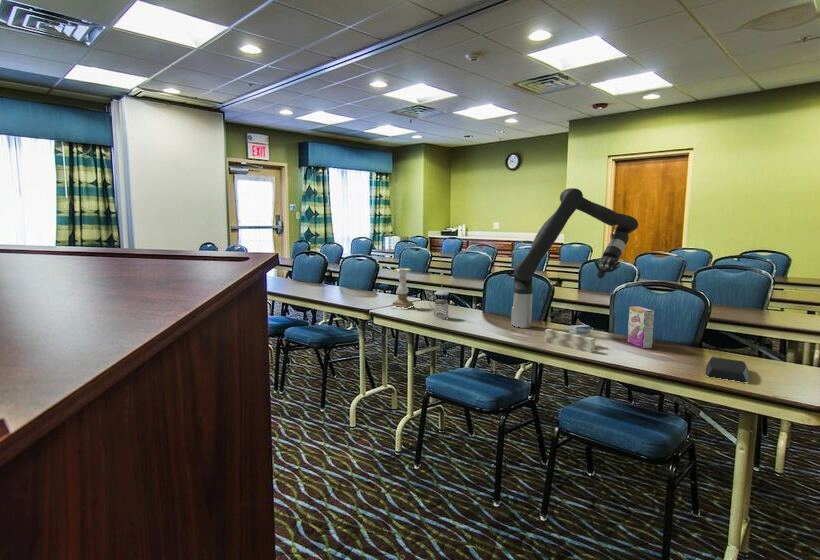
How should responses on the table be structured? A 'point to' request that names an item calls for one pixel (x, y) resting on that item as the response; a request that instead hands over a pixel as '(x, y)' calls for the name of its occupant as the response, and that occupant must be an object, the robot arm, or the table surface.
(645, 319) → the candy bar box
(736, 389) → the table surface
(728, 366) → the external hard drive
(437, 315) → the french press
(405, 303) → the candle holder
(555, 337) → the birch board
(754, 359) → the table surface
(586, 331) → the medicine box
